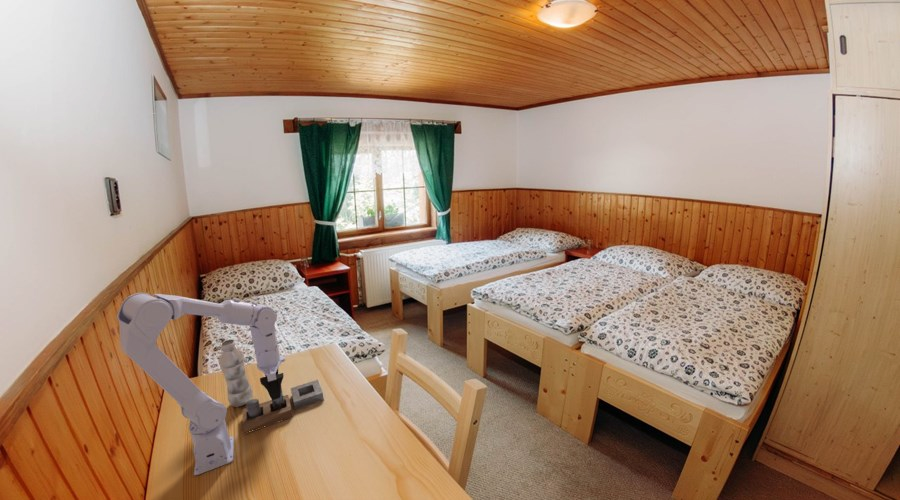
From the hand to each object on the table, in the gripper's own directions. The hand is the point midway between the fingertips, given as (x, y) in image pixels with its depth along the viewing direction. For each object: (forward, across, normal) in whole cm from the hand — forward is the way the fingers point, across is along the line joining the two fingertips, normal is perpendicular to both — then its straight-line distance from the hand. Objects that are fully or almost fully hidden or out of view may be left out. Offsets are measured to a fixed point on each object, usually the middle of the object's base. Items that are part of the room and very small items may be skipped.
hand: (275, 391), depth 106 cm
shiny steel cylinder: (+7, 0, 0) cm, 7 cm away
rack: (+7, 0, +3) cm, 8 cm away
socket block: (+7, +3, -8) cm, 11 cm away
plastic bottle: (+7, +12, +9) cm, 17 cm away
